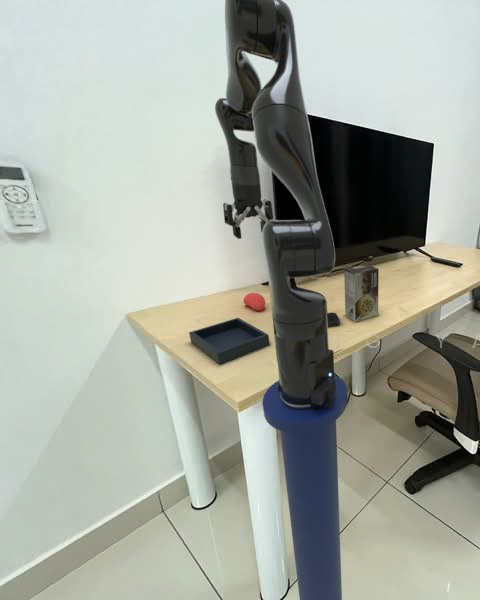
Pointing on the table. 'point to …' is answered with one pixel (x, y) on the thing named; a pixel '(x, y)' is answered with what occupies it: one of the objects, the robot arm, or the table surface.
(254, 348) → the tray
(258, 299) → the stress ball
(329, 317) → the phone
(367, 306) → the coffee box
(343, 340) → the table surface
